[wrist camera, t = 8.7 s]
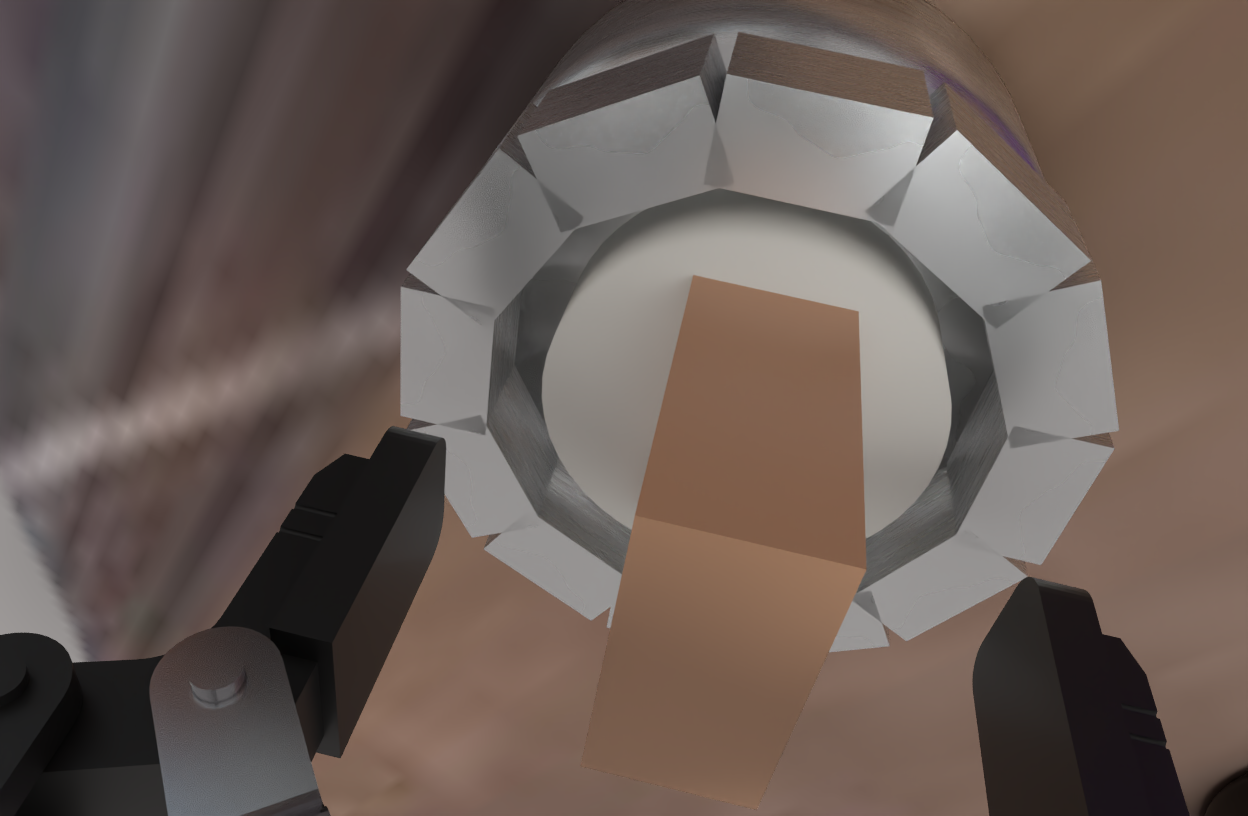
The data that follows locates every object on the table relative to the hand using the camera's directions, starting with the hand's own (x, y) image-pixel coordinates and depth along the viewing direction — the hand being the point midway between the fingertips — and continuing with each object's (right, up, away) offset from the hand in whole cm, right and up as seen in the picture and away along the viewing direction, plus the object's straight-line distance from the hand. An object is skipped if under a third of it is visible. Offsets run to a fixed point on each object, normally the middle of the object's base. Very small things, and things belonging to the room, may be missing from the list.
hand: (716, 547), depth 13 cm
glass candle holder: (+2, +6, +8) cm, 10 cm away
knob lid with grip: (+1, +3, +3) cm, 4 cm away
